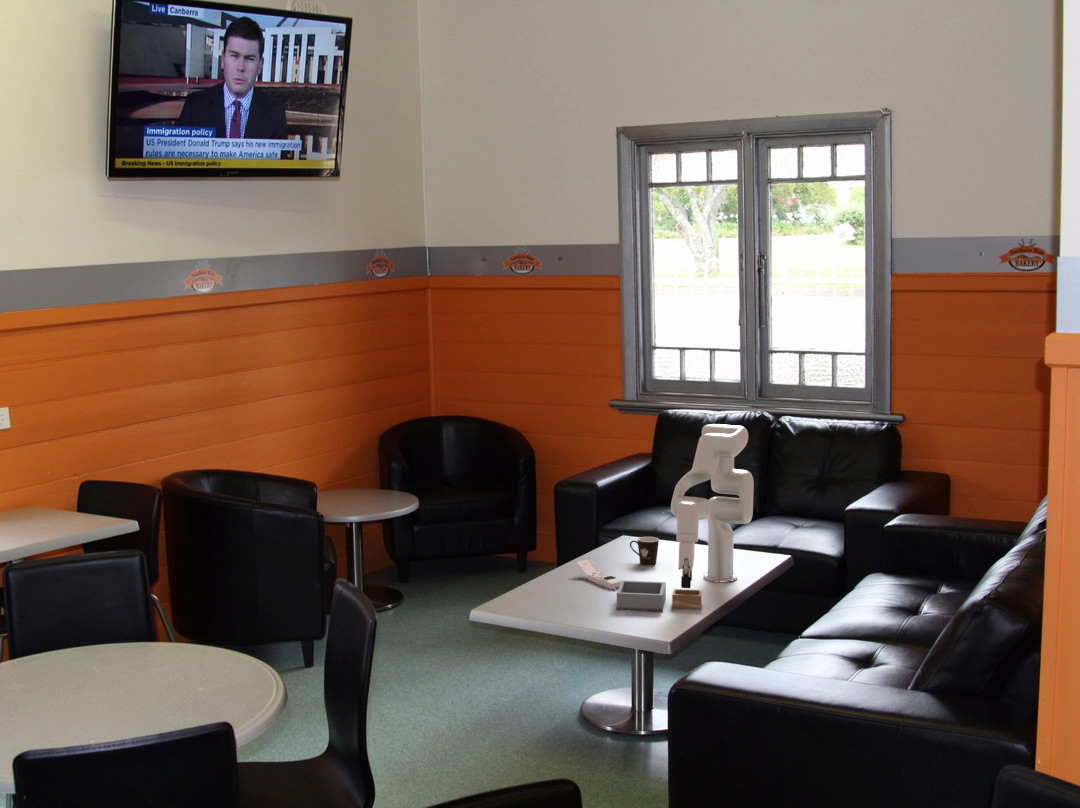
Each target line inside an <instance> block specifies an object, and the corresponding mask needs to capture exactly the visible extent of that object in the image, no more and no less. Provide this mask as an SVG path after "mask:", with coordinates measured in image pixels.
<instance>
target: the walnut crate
mask: <svg viewBox="0 0 1080 808" xmlns="http://www.w3.org/2000/svg"><path fill="white" fill-rule="evenodd" d="M702 592H703V591H702V589H688V588H680V589H679V588H673V589H672V594H671V601H672V602H671V606H672V607H671V609H674V610H694V609H701V610H702V603H703V602H702V601H703V599H702V598H703V595H702Z"/></svg>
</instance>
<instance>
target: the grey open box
mask: <svg viewBox="0 0 1080 808" xmlns="http://www.w3.org/2000/svg"><path fill="white" fill-rule="evenodd" d="M666 586H667V583H666V581H665V582H664V581H642V580H621V583H620V586H619V587H618V589H617V590H616V591H617V592H616V610H617V611H628V610H630V611H631V612H650V613H651V612H655V613H664V608H665V603H666V597H667V595H666V594H667V593H666V591H667V587H666ZM630 611H629V612H630Z"/></svg>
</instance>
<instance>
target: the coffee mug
mask: <svg viewBox="0 0 1080 808" xmlns="http://www.w3.org/2000/svg"><path fill="white" fill-rule="evenodd" d="M659 541H660V539H659V538H658V537H655V536H642V537H638V538H637V539H636V540H631V541H630V542H629V547H630V548H631V549H630V550H632V551H633V553H635V554H636V555H637V556H639V565H641V566H644V565H645V566H646V565H653V566H656V565H657V558H658V551H659ZM632 543H636V544H637V549H638V552H637V550H635V549H634V548H633V547H632V545H633V544H632ZM655 564H656V565H655ZM646 567H647V566H646Z"/></svg>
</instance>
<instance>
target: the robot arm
mask: <svg viewBox="0 0 1080 808" xmlns="http://www.w3.org/2000/svg"><path fill="white" fill-rule="evenodd" d="M748 440H749V432H748V430H747V428H746V427H744V426H743V425H734V424H733V425H731V424H723V423H722V424H720V423H717V424H716V423H712V424H709V423H708V424H705V425H703V427H702V428H701V436H700V437H699V439H698V443H697V446H696V451H695V456H694V459H693V464H692V467H691V470H690V471H688V472H687V473H685V475H683V476H682V477H681V478H680V479H679V480H678V482H677V483H676V485H675V486H674V487H675V488H674V491H673V495H672V498H671V502H670V511H671V514H672V515H673V516H675V517H676V541H677V542H678V566H677V567H678V570H679V571H681V570H682V571H681V578H680V579H681V582H680V583H681V584H680V587H681V588H680V589H691V584H692V581H693V580H692V579H693V569H694V568H693V567H694V563H695V561H694V560H695V545H696V544H695V543H698V542H699V520H705V519H707V529H708V530H707V531H708V532H707V533H708V535H707V571H706V572H705V573H704V574H703V578H704V580H706V579H708V580H711V581H710V582H713V581H718V582H717V583H721V582H720V581H732V580H735V579H736V578H737V579H738V575H737V574H736V573H734V540H735V539H734V531H733V528H732V527H731V525H730V524H736V525H737V524H739V525H747V524H749V523H751V521H752V519H753V515H754V514H753V513H754V489H755V488H754V477H753V475H752V472H750V471H748V470H747V469H746V470H745V469H736V468H735V457H737V456H738V455H739V454H740V453H741V452H742V451H743V450H744V449H745V448H746V446H747V444H748ZM709 480H710V485H711V490H712V491H713V492H715V493H718V494H723V495H725V494H726V495H736V496H738V497H730V496H729V497H728V496H713V497H711V498H709V499H707V498H703V497H698V496H686V495H685V493H686V492H687V491H688V490H689V489H691V488H692V487H694V486H696V485H698V484H701V483H704V482H707V481H709ZM737 579H736V580H737ZM708 580H707V581H708ZM736 580H735V581H736ZM732 582H733V581H732Z"/></svg>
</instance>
